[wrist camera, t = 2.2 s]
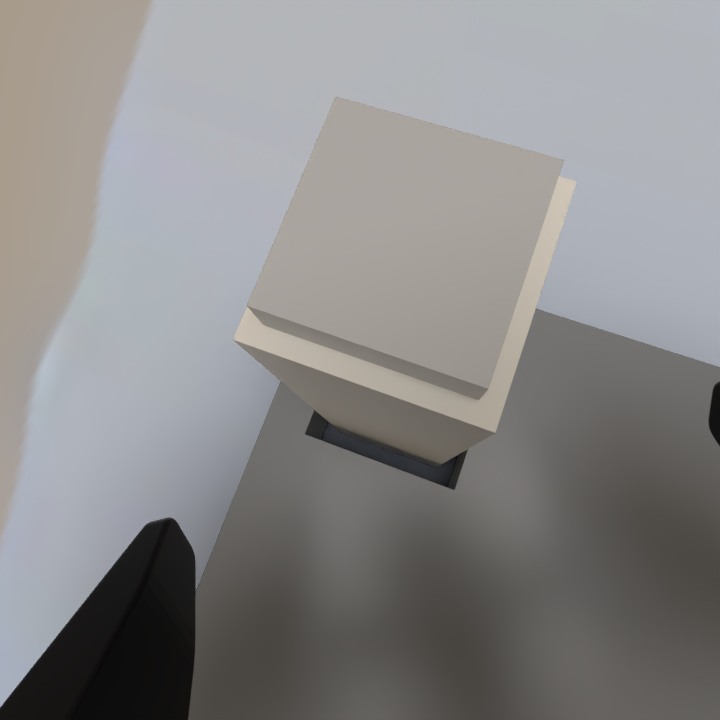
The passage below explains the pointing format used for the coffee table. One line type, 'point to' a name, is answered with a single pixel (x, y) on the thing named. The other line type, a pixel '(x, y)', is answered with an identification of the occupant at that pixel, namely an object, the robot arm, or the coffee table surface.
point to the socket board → (481, 558)
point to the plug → (407, 279)
